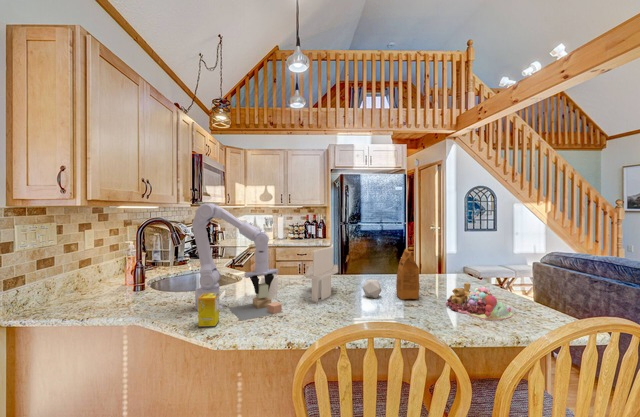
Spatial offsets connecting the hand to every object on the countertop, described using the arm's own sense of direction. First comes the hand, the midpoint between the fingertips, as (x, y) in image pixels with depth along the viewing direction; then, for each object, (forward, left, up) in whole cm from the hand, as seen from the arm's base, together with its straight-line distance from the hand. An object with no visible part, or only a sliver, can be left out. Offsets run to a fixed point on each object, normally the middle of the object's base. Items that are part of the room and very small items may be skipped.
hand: (261, 292), depth 133 cm
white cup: (+8, +10, -6) cm, 14 cm away
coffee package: (+63, -24, -6) cm, 68 cm away
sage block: (0, 0, -2) cm, 2 cm away
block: (+2, -10, -6) cm, 11 cm away
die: (+49, -15, -6) cm, 52 cm away
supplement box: (-24, -9, -6) cm, 26 cm away
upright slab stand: (+30, 0, -6) cm, 31 cm away
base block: (0, 0, -6) cm, 6 cm away
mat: (-4, -4, -6) cm, 8 cm away
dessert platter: (+75, -52, -7) cm, 92 cm away
